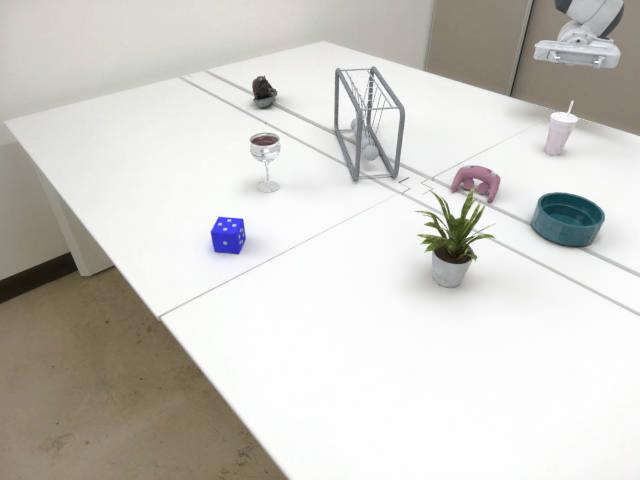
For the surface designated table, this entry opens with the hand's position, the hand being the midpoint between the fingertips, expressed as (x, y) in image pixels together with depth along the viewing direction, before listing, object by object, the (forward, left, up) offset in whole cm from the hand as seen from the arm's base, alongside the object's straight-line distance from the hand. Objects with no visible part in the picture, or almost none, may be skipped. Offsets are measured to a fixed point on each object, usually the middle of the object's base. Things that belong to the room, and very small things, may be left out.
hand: (576, 63), depth 116 cm
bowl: (+10, +46, -19) cm, 51 cm away
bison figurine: (+84, -11, -19) cm, 87 cm away
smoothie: (+3, +12, -19) cm, 23 cm away
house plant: (+35, +62, -19) cm, 74 cm away
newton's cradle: (+52, +18, -19) cm, 58 cm away
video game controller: (+26, +34, -19) cm, 47 cm away
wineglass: (+73, +37, -19) cm, 84 cm away
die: (+76, +59, -19) cm, 98 cm away
